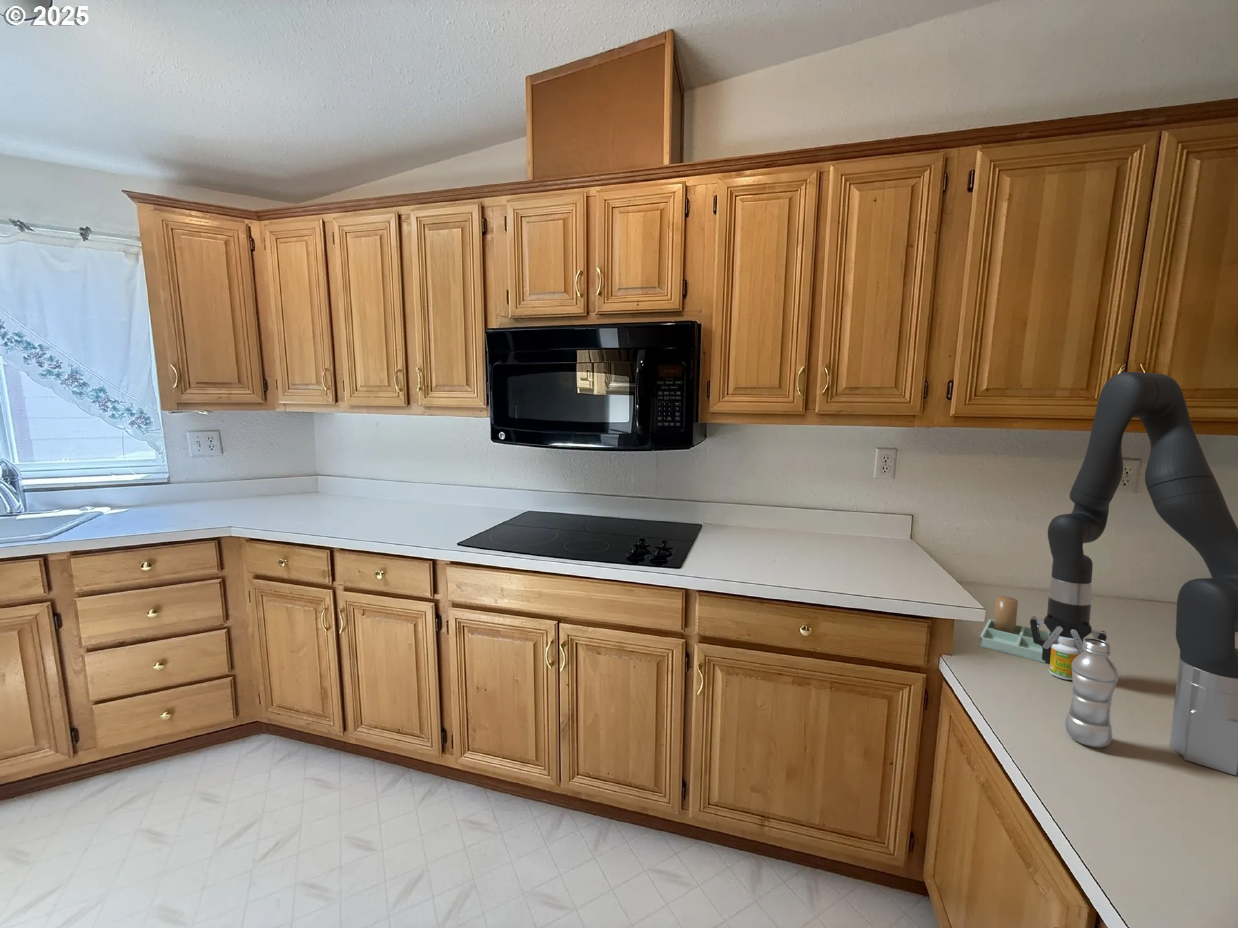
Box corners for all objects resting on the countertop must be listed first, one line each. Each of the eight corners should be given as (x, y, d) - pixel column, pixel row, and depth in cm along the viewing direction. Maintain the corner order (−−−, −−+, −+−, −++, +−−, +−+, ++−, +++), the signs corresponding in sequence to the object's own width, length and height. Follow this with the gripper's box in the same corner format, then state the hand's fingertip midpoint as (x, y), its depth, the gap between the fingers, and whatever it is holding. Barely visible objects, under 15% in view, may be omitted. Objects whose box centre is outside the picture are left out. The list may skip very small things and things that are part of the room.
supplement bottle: (1051, 677, 122) (1054, 637, 121) (1045, 667, 127) (1048, 628, 126) (1081, 682, 120) (1085, 642, 118) (1074, 671, 124) (1077, 633, 123)
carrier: (1055, 665, 128) (1056, 656, 127) (978, 646, 138) (979, 637, 138) (1060, 643, 139) (1061, 634, 139) (988, 626, 150) (989, 618, 150)
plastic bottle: (1063, 726, 104) (1071, 631, 102) (1109, 739, 100) (1119, 640, 98) (1064, 743, 99) (1073, 643, 97) (1113, 757, 95) (1123, 653, 93)
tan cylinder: (1014, 639, 141) (1016, 604, 140) (992, 634, 144) (994, 599, 143) (1016, 633, 144) (1018, 599, 143) (995, 628, 147) (997, 594, 146)
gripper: (1028, 595, 123) (1023, 662, 125) (1112, 610, 113) (1105, 683, 115) (1032, 586, 129) (1027, 651, 131) (1111, 600, 119) (1105, 670, 121)
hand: (1063, 666), depth 123 cm, fingers closed on supplement bottle, 5 cm apart
